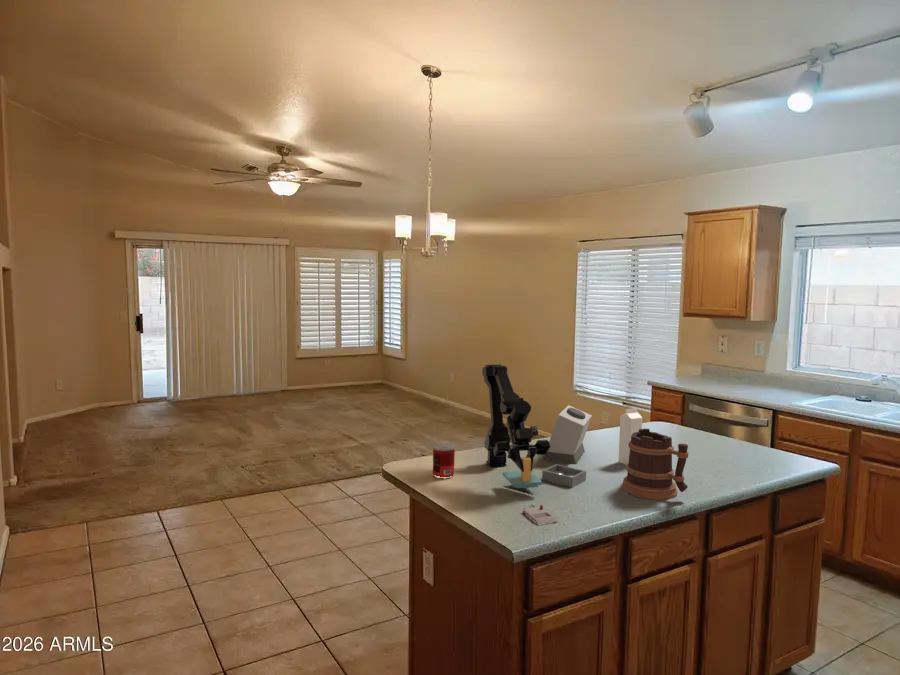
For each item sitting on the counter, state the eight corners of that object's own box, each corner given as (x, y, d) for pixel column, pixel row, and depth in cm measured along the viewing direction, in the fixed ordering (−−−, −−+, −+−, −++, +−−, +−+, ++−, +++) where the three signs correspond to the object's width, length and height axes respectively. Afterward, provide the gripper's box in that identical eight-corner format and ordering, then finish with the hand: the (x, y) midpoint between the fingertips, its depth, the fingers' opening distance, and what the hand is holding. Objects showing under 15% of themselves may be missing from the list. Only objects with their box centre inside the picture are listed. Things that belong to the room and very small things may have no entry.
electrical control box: (541, 529, 165) (541, 519, 165) (516, 509, 180) (516, 500, 180) (561, 527, 167) (561, 517, 167) (535, 507, 182) (535, 498, 182)
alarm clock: (553, 447, 249) (555, 401, 247) (590, 452, 243) (592, 405, 241) (542, 460, 230) (544, 410, 228) (582, 466, 224) (584, 414, 222)
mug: (671, 508, 182) (674, 446, 180) (610, 488, 199) (612, 431, 198) (700, 495, 194) (703, 437, 192) (640, 477, 211) (642, 424, 209)
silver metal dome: (562, 481, 203) (562, 476, 203) (567, 479, 206) (568, 473, 206) (572, 484, 201) (572, 478, 200) (578, 481, 204) (578, 476, 203)
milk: (618, 462, 230) (620, 407, 228) (629, 460, 232) (631, 406, 230) (629, 466, 224) (631, 410, 222) (640, 464, 227) (642, 409, 225)
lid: (502, 477, 199) (503, 450, 198) (529, 476, 201) (530, 449, 201) (513, 489, 188) (514, 461, 187) (542, 487, 190) (543, 459, 189)
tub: (542, 481, 205) (542, 470, 205) (556, 474, 213) (556, 464, 212) (572, 489, 197) (572, 477, 197) (585, 482, 205) (586, 471, 205)
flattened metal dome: (550, 478, 206) (550, 473, 206) (555, 475, 209) (555, 470, 209) (559, 481, 204) (560, 475, 204) (565, 478, 207) (565, 472, 207)
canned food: (457, 474, 211) (458, 445, 210) (448, 480, 204) (448, 450, 203) (438, 471, 215) (439, 442, 214) (429, 477, 207) (429, 447, 206)
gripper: (496, 418, 191) (505, 460, 181) (549, 416, 195) (561, 457, 185) (489, 435, 199) (498, 476, 190) (540, 433, 203) (551, 473, 194)
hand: (527, 471), depth 189 cm, fingers closed on lid, 2 cm apart
